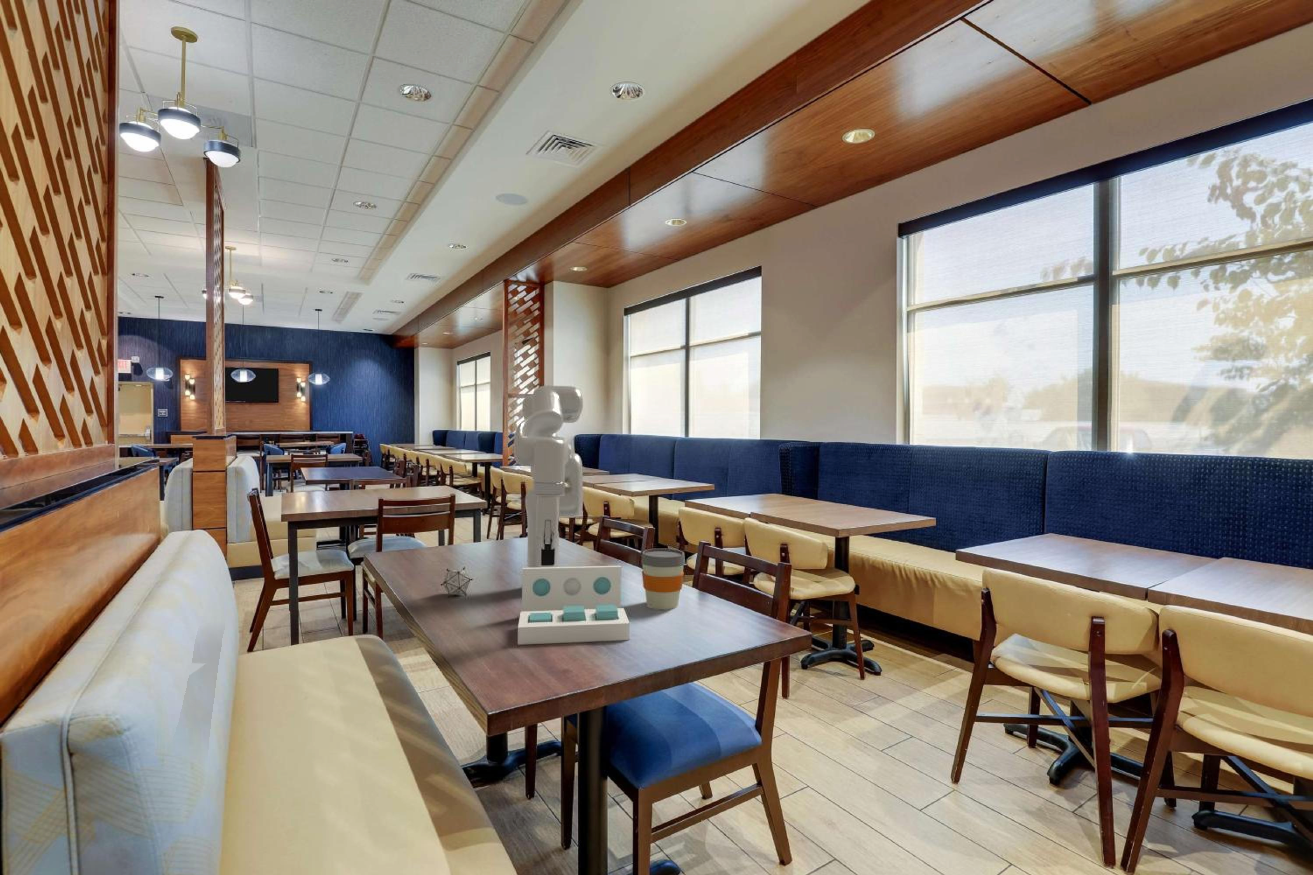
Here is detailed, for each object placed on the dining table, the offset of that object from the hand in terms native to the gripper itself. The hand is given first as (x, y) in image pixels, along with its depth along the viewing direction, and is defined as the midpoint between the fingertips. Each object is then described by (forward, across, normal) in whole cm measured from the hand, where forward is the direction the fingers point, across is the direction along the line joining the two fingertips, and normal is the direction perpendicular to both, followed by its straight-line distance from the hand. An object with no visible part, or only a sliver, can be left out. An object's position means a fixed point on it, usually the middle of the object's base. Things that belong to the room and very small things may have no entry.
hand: (547, 564), depth 147 cm
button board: (+17, 0, +6) cm, 18 cm away
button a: (+16, 0, -2) cm, 16 cm away
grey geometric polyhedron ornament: (+17, -36, -27) cm, 49 cm away
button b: (+15, 0, +6) cm, 16 cm away
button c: (+15, 0, +14) cm, 20 cm away
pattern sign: (+17, -14, +6) cm, 23 cm away
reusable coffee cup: (+17, -22, +32) cm, 42 cm away
